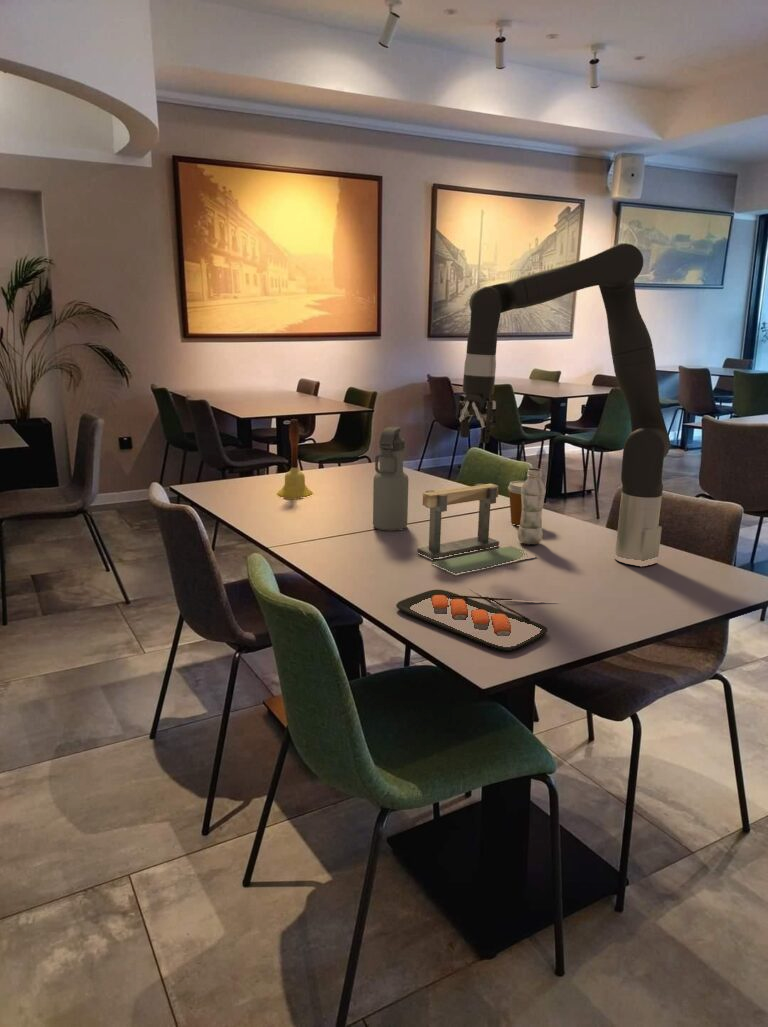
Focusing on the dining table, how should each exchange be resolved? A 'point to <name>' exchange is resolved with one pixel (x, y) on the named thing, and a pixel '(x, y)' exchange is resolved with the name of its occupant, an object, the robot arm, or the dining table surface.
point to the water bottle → (390, 483)
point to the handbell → (294, 469)
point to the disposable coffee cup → (515, 501)
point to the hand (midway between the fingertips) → (474, 440)
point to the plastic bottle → (532, 508)
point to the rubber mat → (481, 559)
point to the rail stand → (462, 545)
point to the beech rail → (458, 495)
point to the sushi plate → (478, 615)
